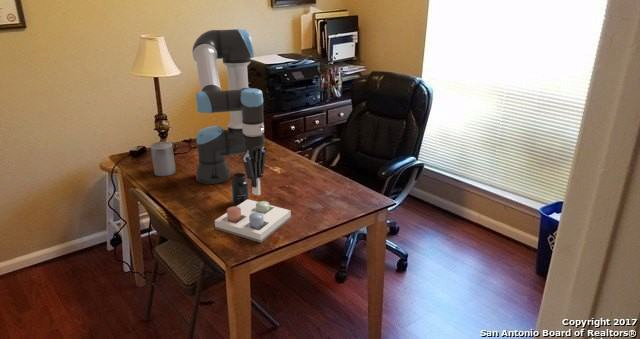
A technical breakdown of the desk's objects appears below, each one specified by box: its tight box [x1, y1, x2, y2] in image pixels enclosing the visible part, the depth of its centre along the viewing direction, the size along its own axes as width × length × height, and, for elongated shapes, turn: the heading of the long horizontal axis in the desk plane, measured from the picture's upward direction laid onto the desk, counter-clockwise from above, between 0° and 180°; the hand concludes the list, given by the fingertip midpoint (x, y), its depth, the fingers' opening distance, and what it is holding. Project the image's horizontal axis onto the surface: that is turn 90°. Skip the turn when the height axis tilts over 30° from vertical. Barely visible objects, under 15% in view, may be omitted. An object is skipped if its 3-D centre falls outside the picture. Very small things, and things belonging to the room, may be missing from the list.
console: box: [214, 198, 292, 244], centre depth 173 cm, size 20×20×3 cm
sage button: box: [256, 200, 270, 214], centre depth 177 cm, size 5×5×4 cm
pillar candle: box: [149, 141, 177, 177], centre depth 215 cm, size 10×10×15 cm
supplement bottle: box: [230, 172, 250, 206], centre depth 188 cm, size 7×7×12 cm
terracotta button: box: [226, 206, 241, 223], centre depth 170 cm, size 5×5×4 cm
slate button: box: [249, 213, 264, 229], centre depth 166 cm, size 5×5×4 cm
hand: (256, 193), depth 173 cm, fingers closed
